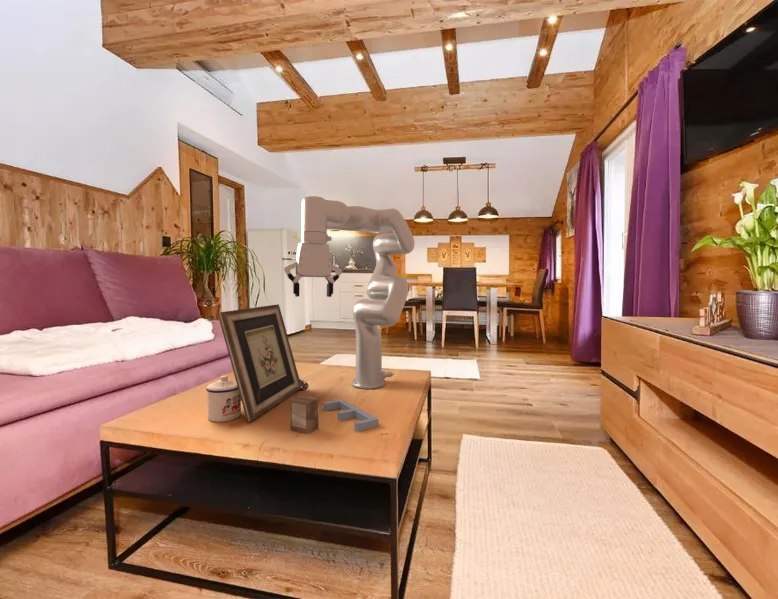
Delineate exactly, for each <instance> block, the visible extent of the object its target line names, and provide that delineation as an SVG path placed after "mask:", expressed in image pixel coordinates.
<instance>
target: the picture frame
mask: <svg viewBox="0 0 778 599" xmlns="http://www.w3.org/2000/svg"><path fill="white" fill-rule="evenodd" d="M217 317H218V320H219V325H220V328H221V331H222V332H221V333H222V334H223V338H224V341H225V345H226V350H227V352H228V356H229V360H230V365H231V367H232V371H233V375H234V379H235V381H236V383H237V386H238V390H239V394H240V397H241V406H242V407H243V408H242V409H243V412H244V415H245V419H246V423H249V422H252V421H254V420H256V419H257V418H258V417H260V416H261V415H263V414H265V413H266V412H267V411H269V410H271V409H272V408H273V407H275V406H276V405H278V404H279V403H281V402H283V401H284V400H286V399H287V398H289V397H291V396H292V395H294V394H295V393H296V392H298V391H299V390H301V389H300V386H301V387H302V383H301V381H300V376H299V373H298V369H297V365H296V361H295V358H294V355H293V351H292V348H291V344H290V340H289V337H288V336H289V335H288V333H287V328H286V325H285V322H284V318H283V314H282V311H281V307H280V304H271V305H270V304H269V305H264V306H256V307H249V308H241V309H235V310H227V311H221V312H217Z"/></svg>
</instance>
